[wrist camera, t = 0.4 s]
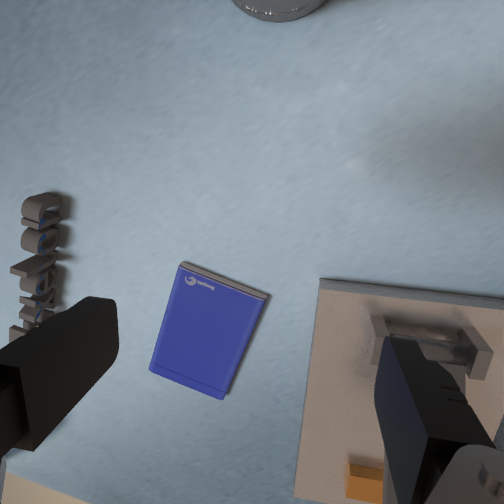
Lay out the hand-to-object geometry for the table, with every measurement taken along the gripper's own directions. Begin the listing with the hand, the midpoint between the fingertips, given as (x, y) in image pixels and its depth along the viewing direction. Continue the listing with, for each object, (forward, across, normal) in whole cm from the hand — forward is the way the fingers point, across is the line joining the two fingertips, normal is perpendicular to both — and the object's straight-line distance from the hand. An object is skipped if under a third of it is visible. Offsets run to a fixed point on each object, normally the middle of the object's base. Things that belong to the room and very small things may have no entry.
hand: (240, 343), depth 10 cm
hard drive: (+20, +7, +12) cm, 25 cm away
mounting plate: (+20, -11, +17) cm, 29 cm away
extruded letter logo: (+20, +24, +12) cm, 33 cm away
